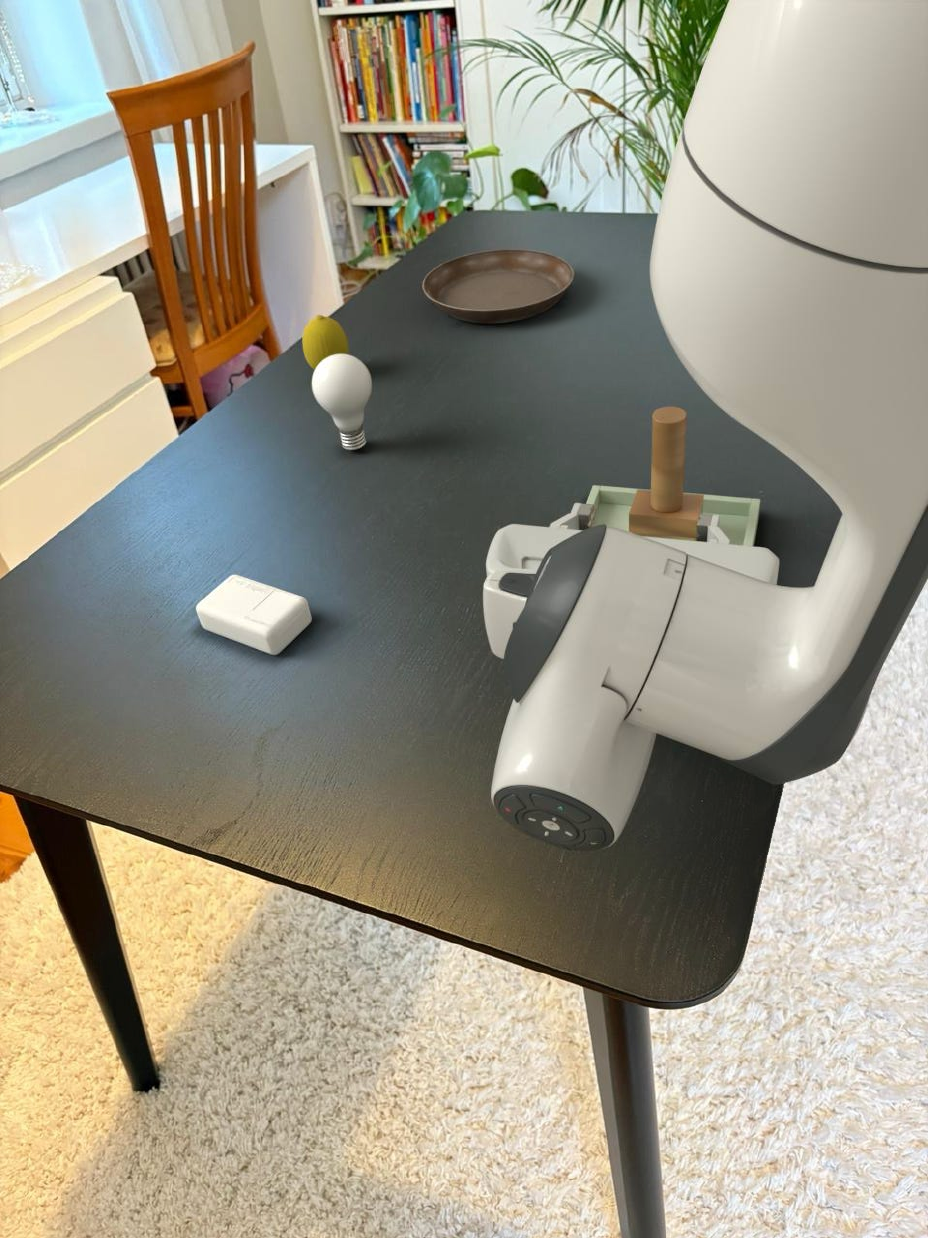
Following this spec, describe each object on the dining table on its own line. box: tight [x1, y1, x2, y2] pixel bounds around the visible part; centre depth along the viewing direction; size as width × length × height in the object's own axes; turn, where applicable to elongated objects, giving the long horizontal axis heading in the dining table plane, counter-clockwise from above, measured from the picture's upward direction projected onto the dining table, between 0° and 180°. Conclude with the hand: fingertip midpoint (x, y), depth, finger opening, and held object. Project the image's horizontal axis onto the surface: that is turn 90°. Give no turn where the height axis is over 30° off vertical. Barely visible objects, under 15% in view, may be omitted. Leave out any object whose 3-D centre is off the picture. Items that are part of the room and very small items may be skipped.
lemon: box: [301, 314, 349, 370], centre depth 120 cm, size 6×6×8 cm
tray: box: [585, 484, 761, 547], centre depth 84 cm, size 16×24×2 cm, turn 162°
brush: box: [629, 406, 705, 541], centre depth 85 cm, size 6×4×12 cm, turn 72°
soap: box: [195, 574, 313, 656], centre depth 86 cm, size 9×6×3 cm, turn 58°
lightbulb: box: [311, 353, 373, 452], centre depth 105 cm, size 6×6×11 cm
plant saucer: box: [422, 248, 575, 325], centre depth 133 cm, size 21×21×3 cm
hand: (646, 515), depth 74 cm, fingers open, 8 cm apart
